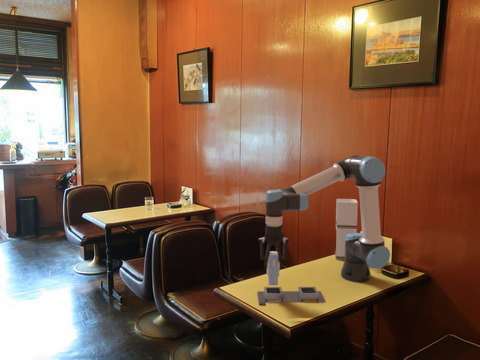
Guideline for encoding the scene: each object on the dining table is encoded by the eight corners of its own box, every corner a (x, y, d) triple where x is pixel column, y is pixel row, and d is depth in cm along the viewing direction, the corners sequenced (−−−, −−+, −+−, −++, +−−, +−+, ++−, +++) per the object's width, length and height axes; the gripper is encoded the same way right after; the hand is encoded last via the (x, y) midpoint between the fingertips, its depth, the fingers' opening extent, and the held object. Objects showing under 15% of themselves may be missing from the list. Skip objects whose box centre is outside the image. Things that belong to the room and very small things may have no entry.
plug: (276, 281, 178) (277, 251, 176) (278, 286, 173) (278, 255, 171) (268, 281, 178) (268, 251, 176) (269, 286, 173) (269, 255, 171)
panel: (320, 293, 183) (320, 285, 183) (326, 304, 171) (326, 295, 171) (257, 293, 183) (257, 285, 183) (258, 304, 171) (258, 296, 171)
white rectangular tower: (353, 255, 239) (355, 199, 235) (355, 260, 229) (357, 202, 224) (334, 254, 241) (336, 198, 237) (335, 259, 231) (337, 201, 227)
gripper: (291, 222, 177) (290, 272, 180) (254, 222, 177) (253, 271, 179) (294, 226, 169) (292, 278, 172) (255, 226, 169) (254, 278, 172)
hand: (273, 274), depth 176 cm, fingers closed on plug, 4 cm apart
